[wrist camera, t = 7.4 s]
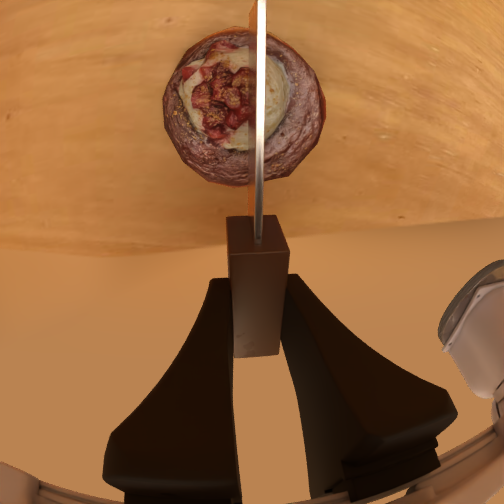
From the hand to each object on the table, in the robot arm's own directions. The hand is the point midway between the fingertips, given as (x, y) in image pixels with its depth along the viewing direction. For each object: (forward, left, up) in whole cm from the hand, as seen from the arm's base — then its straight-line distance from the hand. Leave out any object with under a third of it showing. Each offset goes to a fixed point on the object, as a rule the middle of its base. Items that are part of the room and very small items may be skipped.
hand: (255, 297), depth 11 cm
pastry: (+6, 0, -7) cm, 9 cm away
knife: (+4, 0, -1) cm, 4 cm away
